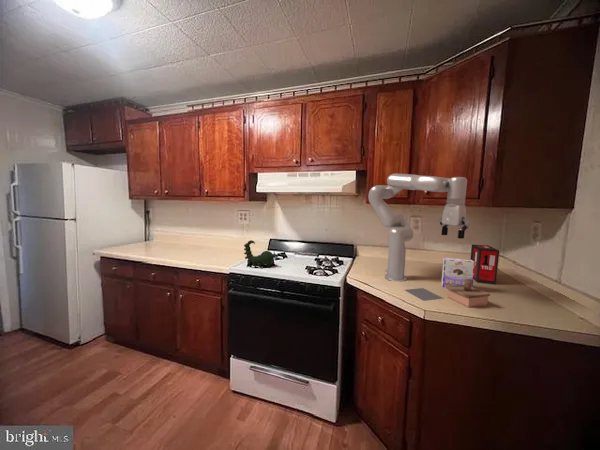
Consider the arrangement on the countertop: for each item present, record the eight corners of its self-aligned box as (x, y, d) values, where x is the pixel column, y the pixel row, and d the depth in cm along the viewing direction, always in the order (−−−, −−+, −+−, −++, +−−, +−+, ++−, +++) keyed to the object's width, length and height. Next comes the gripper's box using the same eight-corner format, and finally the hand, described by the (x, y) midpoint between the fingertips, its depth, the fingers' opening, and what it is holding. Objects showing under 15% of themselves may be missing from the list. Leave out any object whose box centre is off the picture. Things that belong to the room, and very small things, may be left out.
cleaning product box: (495, 284, 139) (499, 250, 137) (477, 282, 142) (480, 249, 140) (485, 276, 154) (488, 245, 152) (469, 274, 158) (471, 244, 155)
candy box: (469, 288, 132) (472, 259, 130) (472, 292, 127) (475, 261, 125) (440, 284, 138) (443, 256, 136) (442, 288, 132) (444, 258, 131)
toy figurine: (243, 267, 171) (274, 268, 162) (240, 241, 170) (272, 241, 161) (250, 264, 180) (280, 265, 171) (248, 239, 179) (278, 238, 170)
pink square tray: (447, 298, 118) (448, 288, 118) (465, 296, 121) (466, 287, 120) (468, 308, 107) (469, 297, 107) (487, 306, 110) (488, 295, 110)
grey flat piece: (403, 290, 127) (403, 289, 127) (422, 289, 130) (422, 288, 130) (423, 301, 114) (423, 300, 114) (444, 299, 117) (444, 298, 117)
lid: (446, 288, 118) (447, 276, 117) (465, 286, 121) (466, 275, 120) (468, 298, 106) (470, 285, 106) (489, 296, 109) (491, 283, 109)
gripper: (435, 201, 127) (432, 234, 129) (465, 203, 110) (461, 240, 112) (447, 202, 128) (444, 233, 130) (478, 203, 112) (474, 239, 114)
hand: (452, 236), depth 121 cm, fingers open, 9 cm apart
